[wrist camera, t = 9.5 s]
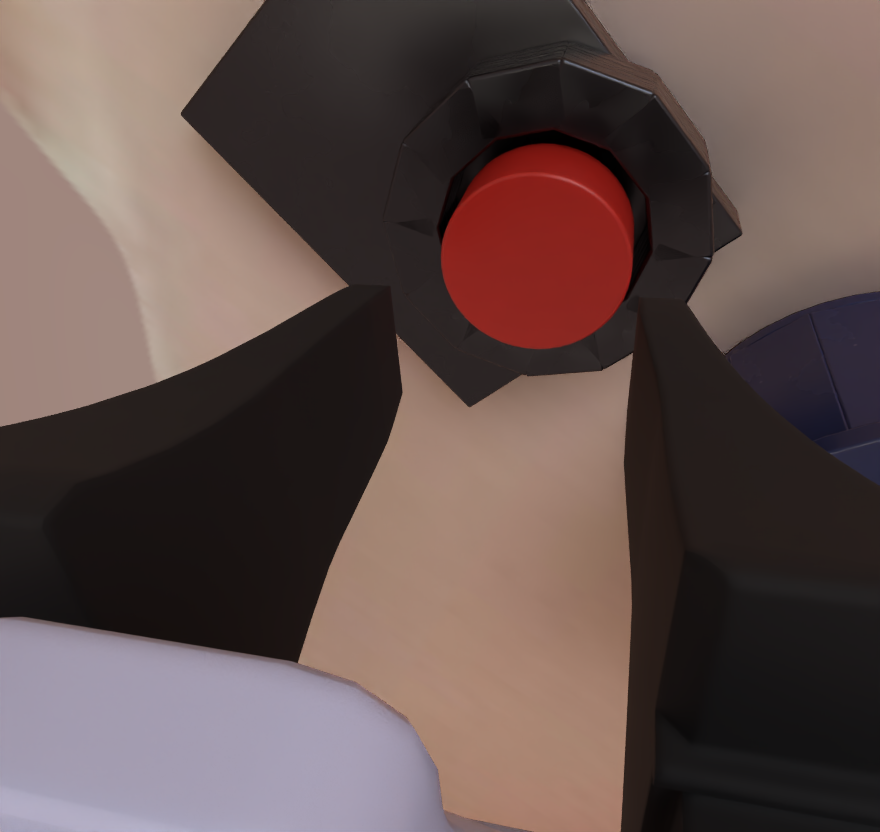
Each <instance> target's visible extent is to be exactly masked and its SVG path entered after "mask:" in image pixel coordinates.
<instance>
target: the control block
mask: <svg viewBox="0 0 880 832" xmlns="http://www.w3.org/2000/svg"><path fill="white" fill-rule="evenodd" d="M181 116H182V117H183V118H184V119H185V120H186V121H187V122H188V123H189V124H190V125H191V126H192V127H193V128H194V129H195V130H196V131H197V132H198V133H199V134H200V135H201V136H202V137H203V138H204V139H205V140H206V141H207V142H208V143H209V144H210V145H211V146H212V147H213V148H214V149H215V150H216V151H217V152H218V153H219V154H220V155H221V156H222V157H223V158H224V159H225V160H226V161H227V162H228V163H229V164H230V165H231V166H232V167H233V169H234V170H235V171H236V172H237V173H238V174H239V175H240V176H241V177H242V178H243V179H244V180H245V181H246V182H247V183H248V184H249V185H250V186H251V187H252V188H253V189H254V190H255V191H256V192H257V193H258V194H259V195H260V196H261V197H262V198H263V199H264V200H265V201H266V202H267V203H268V204H269V205H270V206H271V207H272V208H273V209H274V210H275V211H276V212H277V213H278V214H279V215H280V216H281V217H282V218H283V219H284V220H285V221H286V222H287V223H288V224H289V225H290V226H291V227H292V228H293V229H294V230H295V231H296V232H297V233H298V234H299V235H300V236H301V237H302V238H303V239H304V241H305V242H306V243H307V244H308V245H309V246H310V247H311V248H312V249H313V250H314V251H315V252H316V253H317V254H318V255H319V256H320V257H321V258H322V259H323V260H324V261H325V262H326V263H327V264H328V265H329V266H330V267H331V268H332V269H333V270H334V271H335V272H336V273H337V274H338V275H339V276H340V277H341V278H342V279H343V280H344V281H345V282H346V283H347V284H348V285H349V286H351V285H353V284H362V285H384V286H390V287H391V296H392V305H393V313H394V322H395V331H396V334H397V335H398V336H399V337H400V338H401V339H402V340H403V341H404V342H405V343H406V344H407V345H408V346H409V347H410V348H411V349H412V350H413V351H414V352H415V353H416V354H417V355H418V356H419V357H420V358H421V359H422V360H423V361H424V362H425V363H426V364H427V365H428V366H429V367H430V368H431V369H432V370H433V371H434V372H435V373H436V374H437V375H438V376H439V377H440V378H441V379H442V380H443V381H444V382H445V383H446V385H447V386H448V387H449V388H450V389H451V390H452V391H453V392H454V393H455V394H456V395H457V396H458V397H459V398H460V399H461V400H462V401H463V402H464V403H465V404H466V405H467V406H468V407H471V406H473V405H474V404H476V403H478V402H479V401H481V400H482V399H484V398H486V397H487V396H489V395H490V394H492V393H493V392H495V391H497V390H498V389H500V388H501V387H503V386H504V385H506V384H508V383H509V382H511V381H512V380H514V379H515V378H517V377H519V376H520V375H522V374H523V375H527V376H539V375H552V374H565V373H578V372H591V371H602V370H603V369H606V368H608V367H609V366H611V365H613V364H614V363H616V362H618V361H619V360H621V359H623V358H625V357H626V356H628V355H630V354H631V353H633V351H634V341H635V332H636V322H637V313H638V304H639V297H647V298H669V299H683V300H684V302H685V303H686V304H687V303H688V301H689V299H690V298H691V296H692V294H693V293H694V291H695V289H696V287H697V286H698V284H699V282H700V281H701V279H702V277H703V276H704V274H705V272H706V270H707V269H708V267H709V265H710V264H711V262H712V256H713V254H714V252H716V251H717V250H719V249H721V248H722V247H724V246H725V245H727V244H728V243H730V242H732V241H733V240H735V239H736V238H738V237H740V236H741V235H742V229H741V225H740V221H739V217H738V213H737V210H736V209H735V207H734V206H733V205H732V203H731V202H730V200H729V199H728V198H727V196H726V195H725V194H724V192H723V191H722V189H721V188H720V187H719V185H718V184H717V183H716V181H715V180H714V178H713V177H712V173H711V168H710V162H709V157H708V151H707V148H706V144H705V140H704V139H703V137H702V136H701V134H700V133H699V132H698V130H697V129H696V127H695V126H694V125H693V123H692V122H691V120H690V119H689V118H688V116H687V115H686V113H685V112H684V111H683V109H682V108H681V106H680V105H679V104H678V102H677V101H676V99H675V98H674V97H673V95H672V94H671V93H670V91H669V90H668V88H667V87H666V86H665V84H664V83H663V81H662V80H661V79H660V77H659V76H658V74H656V73H654V72H653V71H652V70H650V69H647V68H645V67H642V66H639V65H637V64H634V63H631V62H629V61H628V60H627V59H626V57H625V56H624V55H623V53H622V52H621V50H620V49H619V48H618V46H617V45H616V44H615V42H614V41H613V39H612V38H611V37H610V35H609V34H608V33H607V31H606V30H605V28H604V27H603V26H602V24H601V23H600V22H599V20H598V19H597V17H596V16H595V15H594V13H593V12H592V10H591V9H590V8H589V6H588V5H587V4H586V2H585V1H584V0H265V2H264V3H263V4H262V6H261V7H260V8H259V10H258V11H257V12H256V14H255V15H254V16H253V18H252V19H251V20H250V22H249V23H248V24H247V26H246V27H245V28H244V30H243V31H242V32H241V34H240V35H239V36H238V38H237V39H236V40H235V42H234V43H233V44H232V45H231V47H230V48H229V49H228V51H227V52H226V53H225V55H224V56H223V57H222V59H221V60H220V61H219V63H218V64H217V65H216V67H215V68H214V69H213V71H212V72H211V73H210V75H209V76H208V77H207V79H206V80H205V81H204V83H203V84H202V85H201V86H200V88H199V89H198V90H197V92H196V93H195V94H194V96H193V97H192V98H191V100H190V101H189V102H188V104H187V105H186V106H185V108H184V109H183V110H182V112H181ZM540 143H546V144H559V145H565V146H569V147H572V148H575V149H578V150H581V151H583V152H585V153H587V154H589V155H591V156H592V157H594V158H596V159H597V160H599V161H600V162H601V163H603V164H604V165H605V166H606V167H607V168H608V169H609V170H610V171H611V172H612V173H613V174H614V175H615V176H616V177H617V179H618V180H619V182H620V183H621V185H622V186H623V188H624V190H625V192H626V194H627V196H628V198H629V201H630V204H631V207H632V212H633V218H634V247H633V267H632V275H631V280H630V284H629V288H628V291H627V293H626V295H625V298H624V300H623V302H622V303H621V305H620V307H619V308H618V310H617V311H616V312H615V314H614V315H613V316H612V317H611V318H610V320H608V321H607V322H606V323H605V324H604V325H603V326H602V327H601V328H599V329H598V330H597V331H595V332H594V333H592V334H591V335H589V336H587V337H585V338H584V339H582V340H580V341H577V342H575V343H572V344H569V345H565V346H562V347H556V348H550V349H529V348H521V347H516V346H512V345H509V344H506V343H503V342H500V341H498V340H496V339H494V338H491V337H490V336H488V335H486V334H485V333H483V332H481V331H480V330H479V329H477V328H476V327H475V326H473V325H472V324H471V323H470V322H469V321H468V320H467V319H466V318H465V317H464V316H463V314H462V313H461V312H460V311H459V310H458V308H457V307H456V305H455V304H454V302H453V300H452V299H451V296H450V294H449V292H448V290H447V288H446V285H445V282H444V279H443V274H442V268H441V246H442V241H443V237H444V233H445V230H446V227H447V225H448V222H449V220H450V219H451V217H452V215H453V213H454V211H455V210H456V208H457V206H458V204H459V202H460V201H461V199H462V197H463V195H464V193H465V192H466V190H467V188H468V186H469V184H470V183H471V181H472V180H473V179H474V177H475V176H476V175H477V173H478V172H479V171H480V170H481V169H482V168H483V167H484V166H485V165H487V164H488V163H489V162H491V161H492V160H493V159H495V158H496V157H498V156H500V155H501V154H503V153H505V152H507V151H510V150H512V149H515V148H518V147H522V146H526V145H531V144H540Z"/></svg>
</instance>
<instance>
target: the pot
mask: <svg viewBox="0 0 880 832" xmlns="http://www.w3.org/2000/svg"><path fill="white" fill-rule="evenodd" d="M725 358H726V359H727V360H728V361H729V362H730V364H731V365H732V366H733V367H734V368H735V370H736V371H737V372H738V373H739V374H740V376H741V377H742V378H743V379H744V380H745V381H746V382H747V383H748V384H749V385H750V386H751V387H752V388H753V389H754V390H755V391H756V392H757V393H758V394H759V395H760V396H761V397H762V398H763V399H764V400H765V401H766V402H767V403H768V404H769V405H770V406H771V407H772V408H773V409H774V410H775V411H777V412H778V413H779V414H780V415H781V416H782V417H784V418H785V419H786V420H787V421H788V422H790V423H791V424H792V425H793V426H795V427H796V428H797V429H798V430H800V431H801V432H802V433H803V434H804V435H806V436H807V437H808V438H809V439H811V440H812V441H814V440H817V439H819V438H822V437H824V436H828V435H832V434H835V433H839V432H842V431H846V430H849V429H853V428H856V427H860V426H863V425H867V424H871V423H877V422H880V291H878V292H871V293H864V294H858V295H852V296H848V297H844V298H841V299H837V300H833V301H829V302H825V303H821V304H819V305H816V306H813V307H810V308H808V309H805V310H802V311H799V312H797V313H794V314H792V315H790V316H787V317H785V318H783V319H781V320H779V321H777V322H775V323H773V324H771V325H769V326H767V327H765V328H763V329H762V330H760V331H759V332H757V333H755V334H754V335H752V336H751V337H749V338H747V339H746V340H744V341H742V342H741V343H740V344H739V345H737V346H736V347H735V348H733V349H732V350H731V351H730V352H728V353H727V354H726V355H725Z"/></svg>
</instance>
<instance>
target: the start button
mask: <svg viewBox="0 0 880 832" xmlns="http://www.w3.org/2000/svg"><path fill="white" fill-rule="evenodd" d="M633 247H634V218H633V212H632V207H631V204H630V201H629V198H628V196H627V194H626V192H625V190H624V188H623V186H622V185H621V183H620V182H619V180H618V179H617V177H616V176H615V175H614V174H613V173H612V172H611V171H610V170H609V169H608V168H607V167H606V166H605V165H604V164H603V163H601V162H600V161H599V160H597V159H596V158H594V157H592V156H591V155H589V154H587V153H585V152H583V151H581V150H578V149H575V148H572V147H569V146H565V145H559V144H546V143H540V144H531V145H526V146H522V147H518V148H515V149H512V150H510V151H507V152H505V153H503V154H501V155H500V156H498V157H496V158H495V159H493V160H492V161H491V162H489V163H488V164H487V165H485V166H484V167H483V168H482V169H481V170H480V171H479V172H478V173H477V175H476V176H475V177H474V179H473V180H472V181H471V183H470V184H469V186H468V188H467V190H466V192H465V193H464V195H463V197H462V199H461V201H460V202H459V204H458V206H457V208H456V210H455V211H454V213H453V215H452V217H451V219H450V220H449V222H448V225H447V227H446V230H445V233H444V237H443V241H442V246H441V268H442V274H443V279H444V282H445V285H446V288H447V290H448V292H449V294H450V296H451V299H452V300H453V302H454V304H455V305H456V307H457V308H458V310H459V311H460V312H461V313H462V314H463V316H464V317H465V318H466V319H467V320H468V321H469V322H470V323H471V324H472V325H473V326H475V327H476V328H477V329H479V330H480V331H481V332H483V333H485V334H486V335H488V336H490V337H491V338H494V339H496V340H498V341H500V342H503V343H506V344H509V345H512V346H516V347H521V348H529V349H550V348H556V347H562V346H565V345H569V344H572V343H575V342H577V341H580V340H582V339H584V338H585V337H587V336H589V335H591V334H592V333H594V332H595V331H597V330H598V329H599V328H601V327H602V326H603V325H604V324H605V323H606V322H607V321H608V320H610V318H611V317H612V316H613V315H614V314H615V312H616V311H617V310H618V308H619V307H620V305H621V303H622V302H623V300H624V298H625V295H626V293H627V291H628V288H629V284H630V280H631V275H632V267H633Z"/></svg>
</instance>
